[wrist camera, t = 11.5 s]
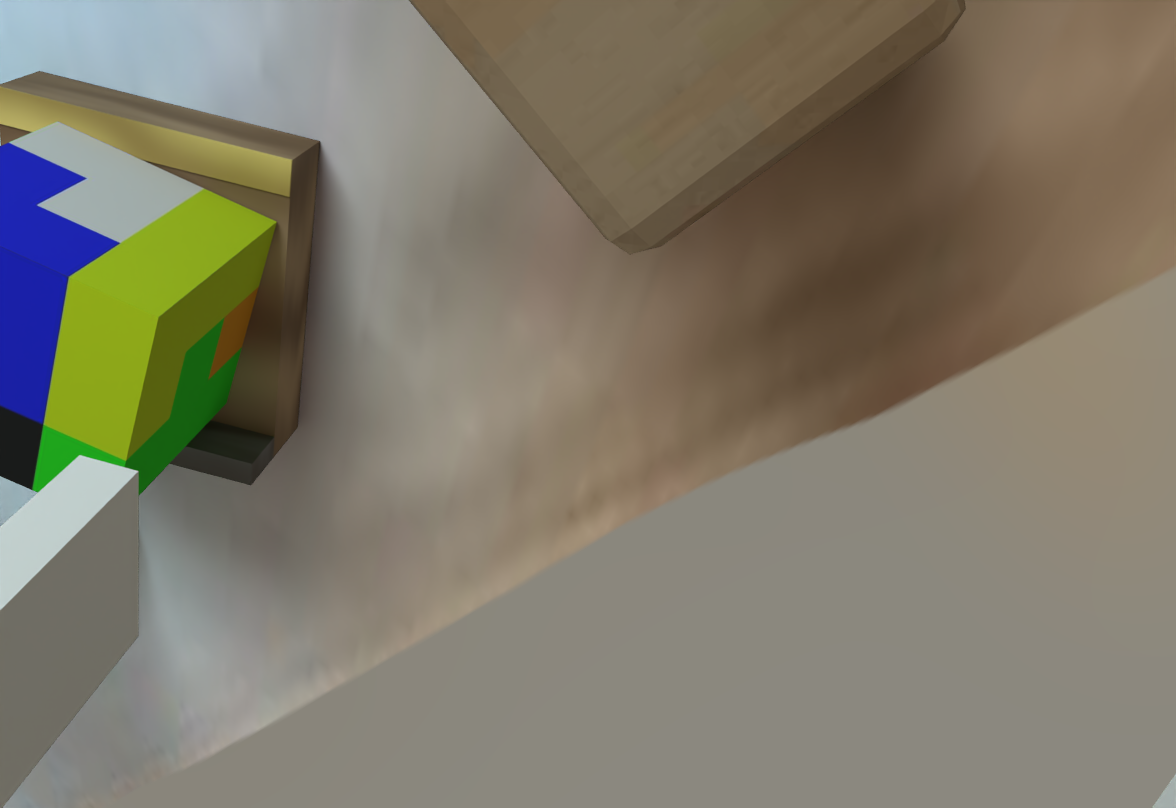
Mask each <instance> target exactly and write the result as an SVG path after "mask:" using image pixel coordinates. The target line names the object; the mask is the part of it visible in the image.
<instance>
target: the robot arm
mask: <svg viewBox="0 0 1176 808" xmlns="http://www.w3.org/2000/svg"><path fill="white" fill-rule="evenodd" d="M138 537H139V471H136V470H133V469H129V468H125V467H122V466H118V465H114V464H111V463H107V462H103V461H100V460H96V459H92V458H89V457H85V456H81V455H79V456H78V457H77V458H76V459H75V460H74V461H73V462H72V463H70V464H69V465H68V466H67V467H66V468H65V469H64V470H63V471H62V472H60V473H59V474H58V475H57V476H56V477H55V478H54V479H53V480H52V481H50V482H49V483H48V484H47V485H46V486H45V487H44V488H43V489H42V490H40V491H39V492H38V493H37V494H36V495H35V496H34V497H33V498H32V499H30V500H29V501H28V502H27V503H26V504H25V505H24V506H23V507H22V508H20V509H19V510H18V511H17V512H16V513H15V514H14V515H13V516H12V517H10V518H9V519H8V520H7V521H6V522H5V523H4V524H3V525H2V526H0V808H2V807H3V806H4V805H5V804H6V802H7V801H8V800H9V798H10V797H11V796H12V795H13V793H14V792H15V791H16V790H17V788H18V787H19V786H20V785H21V783H22V782H23V781H24V780H25V778H26V777H27V776H28V775H29V773H30V772H31V771H32V769H33V768H34V767H35V766H36V764H37V763H38V762H39V761H40V759H41V758H42V757H43V756H44V754H45V753H46V752H47V751H48V749H49V748H50V747H51V746H52V744H53V743H54V742H55V740H56V739H57V738H58V737H59V735H60V734H61V733H62V732H63V730H64V729H65V728H66V727H67V725H68V724H69V723H70V722H71V720H72V719H73V718H74V717H75V715H76V714H77V713H78V712H79V710H80V709H81V708H82V706H83V705H84V704H85V703H86V701H87V700H88V699H89V698H90V696H91V695H92V694H93V693H94V691H95V690H96V689H97V688H98V686H99V685H100V684H101V683H102V681H103V680H104V679H105V677H106V676H107V675H108V674H109V672H110V671H111V670H112V669H113V667H114V666H115V665H116V664H117V662H118V661H119V660H120V659H121V657H122V656H123V655H124V654H125V652H126V651H127V650H128V648H129V647H130V646H131V645H132V643H133V642H134V641H135V640H136V638H137V637H138ZM1152 808H1176V774H1175V776H1174V777H1173V779H1172V780H1171V781H1170V783H1169V784H1168V786H1167V787H1166V789H1165V790H1164V791H1163V793H1162V794H1161V796H1160V797H1159V799H1158V800H1157V802H1156V803H1155V805H1154V806H1153V807H1152Z"/></svg>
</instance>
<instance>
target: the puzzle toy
mask: <svg viewBox="0 0 1176 808" xmlns="http://www.w3.org/2000/svg"><path fill="white" fill-rule="evenodd" d="M276 223H277V221H275V220H272V219H270V218H268V217H266V216H264V215H261V214H259V213H257V212H255V211H253V210H250V209H248V208H246V207H244V206H242V205H240V204H237V203H235V202H233V201H231V200H229V199H226V198H224V197H222V196H220V195H218V194H215V193H213V192H211V191H209V190H207V189H204V188H202V187H200V186H198V185H196V184H194V183H191V182H189V181H187V180H185V179H183V178H180V177H178V176H176V175H174V174H172V173H169V172H167V171H165V170H163V169H161V168H159V167H156V166H154V165H152V164H150V163H148V162H145V161H143V160H141V159H139V158H137V157H134V156H132V155H130V154H128V153H126V152H123V151H121V150H119V149H117V148H115V147H113V146H110V145H108V144H106V143H104V142H102V141H99V140H97V139H95V138H93V137H91V136H88V135H86V134H84V133H82V132H80V131H78V130H75V129H73V128H71V127H69V126H67V125H64V124H62V123H60V122H58V121H57V122H55V123H53V124H50V125H48V126H46V127H43V128H41V129H39V130H36V131H34V132H32V133H29V134H27V135H25V136H22V137H20V138H18V139H15V140H13V141H11V142H8V143H6V144H4V145H1V146H0V476H1V477H4V478H6V479H8V480H11V481H13V482H15V483H17V484H20V485H22V486H24V487H27V488H29V489H31V490H34V491H36V492H39V491H40V490H42V489H43V488H44V487H45V486H46V485H47V484H48V483H49V482H50V481H52V480H53V479H54V478H55V477H56V476H57V475H58V474H59V473H60V472H62V471H63V470H64V469H65V468H66V467H67V466H68V465H69V464H70V463H72V462H73V461H74V460H75V459H76V458H77V457H78V456H79V455H81V456H85V457H89V458H92V459H96V460H100V461H103V462H107V463H111V464H114V465H118V466H122V467H125V468H129V469H133V470H136V471H139V495H140V494H141V493H142V492H143V491H144V490H145V489H146V488H147V487H148V485H149V484H150V483H151V482H152V481H153V480H154V479H155V478H156V477H157V476H158V475H159V474H160V473H161V472H162V471H163V470H164V469H165V468H166V466H167V465H168V464H169V463H170V462H171V461H172V460H173V459H174V458H175V457H176V456H177V455H178V454H179V453H180V452H181V451H182V450H183V449H184V447H185V446H186V445H187V444H188V443H189V442H190V441H191V440H192V439H193V438H194V437H195V436H196V435H197V434H198V433H199V432H200V431H201V430H202V429H203V427H204V426H205V425H206V424H207V423H208V422H209V421H210V420H211V419H212V418H213V417H214V416H215V415H216V414H217V413H218V412H219V411H220V410H221V408H222V407H223V406H224V405H225V404H226V403H227V399H228V396H229V392H230V388H231V385H232V381H233V378H234V374H235V370H236V367H237V363H238V360H239V356H240V353H241V349H242V345H243V342H244V338H245V335H246V331H247V327H248V324H249V320H250V317H251V313H252V309H253V306H254V302H255V299H256V295H257V292H258V288H259V284H260V281H261V277H262V274H263V270H264V266H265V263H266V259H267V256H268V252H269V248H270V245H271V241H272V238H273V234H274V231H275V227H276Z"/></svg>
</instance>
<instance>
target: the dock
mask: <svg viewBox="0 0 1176 808" xmlns="http://www.w3.org/2000/svg"><path fill="white" fill-rule="evenodd" d="M57 121H58V122H60V123H62V124H64V125H67V126H69V127H71V128H73V129H75V130H78V131H80V132H82V133H84V134H86V135H88V136H91V137H93V138H95V139H97V140H99V141H102V142H104V143H106V144H108V145H110V146H113V147H115V148H117V149H119V150H121V151H123V152H126V153H128V154H130V155H132V156H134V157H137V158H139V159H141V160H143V161H145V162H148V163H150V164H152V165H154V166H156V167H159V168H161V169H163V170H165V171H167V172H169V173H172V174H174V175H176V176H178V177H180V178H183V179H185V180H187V181H189V182H191V183H194V184H196V185H198V186H200V187H202V188H204V189H207V190H209V191H211V192H213V193H215V194H218V195H220V196H222V197H224V198H226V199H229V200H231V201H233V202H235V203H237V204H240V205H242V206H244V207H246V208H248V209H250V210H253V211H255V212H257V213H259V214H261V215H264V216H266V217H268V218H270V219H272V220H275V221H277V223H276V227H275V231H274V234H273V238H272V241H271V245H270V248H269V252H268V256H267V259H266V263H265V266H264V270H263V274H262V277H261V281H260V284H259V288H258V292H257V295H256V299H255V302H254V306H253V309H252V313H251V317H250V320H249V324H248V327H247V331H246V335H245V338H244V342H243V345H242V349H241V353H240V356H239V360H238V363H237V367H236V370H235V374H234V378H233V381H232V385H231V388H230V392H229V396H228V399H227V403H226V404H225V405H224V406H223V407H222V408H221V410H220V411H219V412H218V413H217V414H216V415H215V416H214V417H213V418H212V419H211V420H210V421H209V422H208V423H207V424H206V425H205V426H204V427H203V429H202V430H201V431H200V432H199V433H198V434H197V435H196V436H195V437H194V438H193V439H192V440H191V441H190V442H189V443H188V444H187V445H186V446H185V447H184V449H183V450H182V451H181V452H180V453H179V454H178V455H177V456H176V457H175V458H174V459H173V460H172V461H171V462H170V463H169V464H173V465H177V466H180V467H184V468H188V469H192V470H196V471H199V472H203V473H207V474H211V475H214V476H218V477H222V478H226V479H230V480H233V481H237V482H241V483H245V484H248V485H252V483H253V482H254V481H255V480H256V478H257V477H258V476H259V475H260V473H261V472H262V471H263V470H264V468H265V467H266V466H267V465H268V463H269V462H270V461H271V460H272V458H273V457H274V456H275V455H276V453H277V452H278V451H279V450H280V449H281V447H282V446H283V445H284V444H285V442H286V441H287V440H288V439H289V437H290V436H291V435H292V434H293V432H294V431H295V430H296V429H297V427H298V415H299V402H300V390H301V377H302V364H303V351H304V338H305V325H306V312H307V299H308V286H309V273H310V260H311V247H312V234H313V221H314V208H315V195H316V183H317V170H318V157H319V144H320V141H317V140H313V139H309V138H305V137H301V136H297V135H293V134H289V133H285V132H281V131H277V130H273V129H269V128H265V127H261V126H257V125H253V124H249V123H245V122H241V121H237V120H233V119H229V118H225V117H221V116H217V115H213V114H209V113H205V112H201V111H197V110H193V109H189V108H185V107H181V106H177V105H173V104H169V103H165V102H161V101H157V100H153V99H149V98H145V97H141V96H137V95H133V94H129V93H125V92H121V91H117V90H113V89H109V88H105V87H101V86H97V85H93V84H89V83H85V82H81V81H77V80H73V79H69V78H65V77H61V76H57V75H53V74H49V73H45V72H41V71H39V72H36V73H33V74H30V75H27V76H24V77H21V78H18V79H15V80H12V81H9V82H6V83H3V84H0V138H1V145H4V144H6V143H8V142H11V141H13V140H15V139H18V138H20V137H22V136H25V135H27V134H29V133H32V132H34V131H36V130H39V129H41V128H43V127H46V126H48V125H50V124H53V123H55V122H57Z"/></svg>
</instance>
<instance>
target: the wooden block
mask: <svg viewBox="0 0 1176 808" xmlns="http://www.w3.org/2000/svg"><path fill="white" fill-rule="evenodd" d="M409 1H410V2H411V4H412V5H413V6H414V7H415V8H416V10H417V11H418V12H419V13H420V14H421V16H422V17H423V18H424V19H425V21H426V22H427V23H428V24H429V25H430V27H431V28H432V29H433V30H434V31H435V33H436V34H437V35H438V36H439V37H440V39H441V40H442V41H443V42H444V44H445V45H446V46H447V47H448V48H449V50H450V51H451V52H452V53H453V54H454V56H455V57H456V58H457V59H458V60H459V62H460V63H461V64H462V65H463V67H464V68H465V69H466V70H467V71H468V73H469V74H470V75H471V76H472V77H473V79H474V80H475V81H476V82H477V83H478V85H479V86H480V87H481V88H482V90H483V91H484V92H485V93H486V94H487V96H488V97H489V98H490V99H491V100H492V102H493V103H494V104H495V105H496V106H497V108H498V109H499V110H500V111H501V113H502V114H503V115H504V116H505V117H506V119H507V120H508V121H509V122H510V123H511V125H512V126H513V127H514V128H515V129H516V131H517V132H518V133H519V134H520V136H521V137H522V138H523V139H524V140H525V142H526V143H527V144H528V145H529V146H530V148H531V149H532V150H533V151H534V153H535V154H536V155H537V156H538V157H539V159H540V160H541V161H542V162H543V163H544V165H545V166H546V167H547V168H548V169H549V171H550V172H551V173H552V174H553V176H554V177H555V178H556V179H557V180H558V182H559V183H560V184H561V185H562V186H563V188H564V189H565V190H566V191H567V192H568V194H569V195H570V196H571V197H572V199H573V200H574V201H575V202H576V203H577V205H578V206H579V207H580V208H581V209H582V211H583V212H584V213H585V214H586V215H587V217H588V218H589V219H590V220H591V222H592V223H593V224H594V225H595V226H596V228H597V229H598V230H599V231H600V232H601V234H602V235H603V236H604V237H605V238H606V239H607V240H609V241H610V242H612V243H613V244H615V245H616V246H618V247H619V248H621V249H622V250H624V251H625V252H627V253H628V254H633V253H636V252H640V251H644V250H648V249H652V248H656V247H660V246H662V245H664V244H665V243H666V242H668V241H669V240H670V239H672V238H673V237H675V236H676V235H677V234H679V233H680V232H681V231H683V230H684V229H686V228H687V227H688V226H690V225H691V224H693V223H694V222H695V221H697V220H698V219H699V218H701V217H702V216H704V215H705V214H706V213H708V212H709V211H710V210H712V209H713V208H715V207H716V206H717V205H719V204H720V203H721V202H723V201H724V200H726V199H727V198H728V197H730V196H731V195H732V194H734V193H735V192H737V191H738V190H739V189H741V188H742V187H743V186H745V185H746V184H748V183H749V182H750V181H752V180H753V179H755V178H756V177H757V176H759V175H760V174H761V173H763V172H764V171H766V170H767V169H768V168H770V167H771V166H772V165H774V164H775V163H777V162H778V161H779V160H781V159H782V158H783V157H785V156H786V155H788V154H789V153H790V152H792V151H793V150H794V149H796V148H797V147H799V146H800V145H801V144H803V143H804V142H805V141H807V140H808V139H810V138H811V137H812V136H814V135H815V134H817V133H818V132H819V131H821V130H822V129H823V128H825V127H826V126H828V125H829V124H830V123H832V122H833V121H834V120H836V119H837V118H839V117H840V116H841V115H843V114H844V113H845V112H847V111H848V110H850V109H851V108H852V107H854V106H855V105H856V104H858V103H859V102H861V101H862V100H863V99H865V98H866V97H867V96H869V95H870V94H872V93H873V92H874V91H876V90H877V89H879V88H880V87H881V86H883V85H884V84H885V83H887V82H888V81H890V80H891V79H892V78H894V77H895V76H896V75H898V74H899V73H901V72H902V71H903V70H905V69H906V68H907V67H909V66H910V65H912V64H913V63H914V62H916V61H917V60H918V59H920V58H921V57H923V56H924V55H925V54H927V53H928V52H929V51H931V50H932V49H934V48H935V47H936V46H938V45H939V44H941V43H942V42H943V41H944V40H945V39H946V37H947V36H948V34H949V33H950V31H951V30H952V28H953V27H954V26H955V24H956V23H957V21H958V20H959V18H960V17H961V15H962V14H963V12H964V11H965V9H966V8H965V1H964V0H409Z"/></svg>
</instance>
